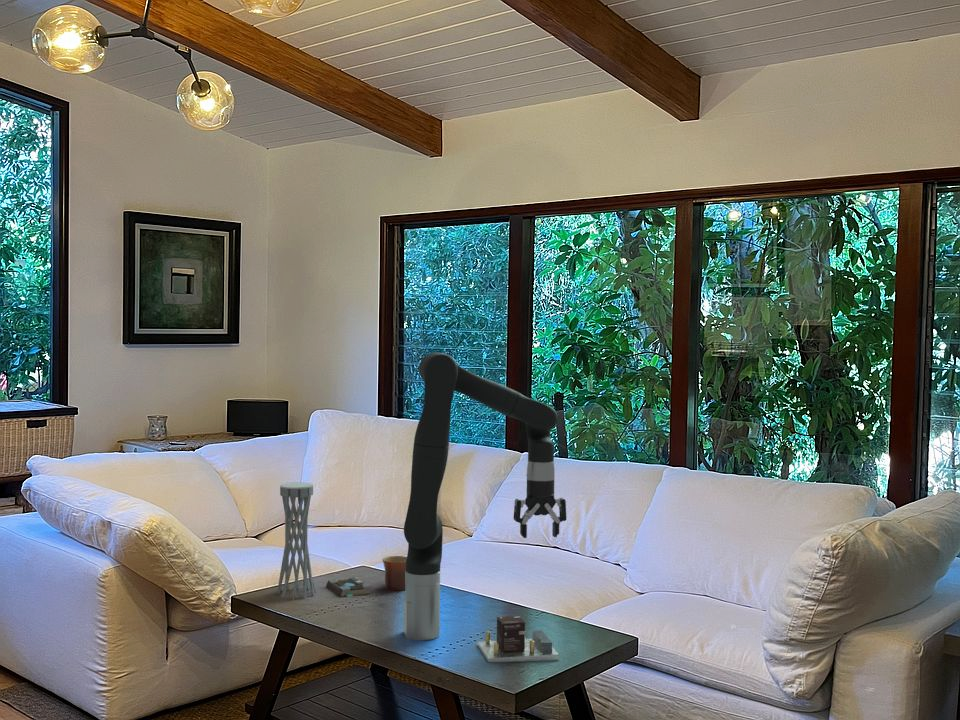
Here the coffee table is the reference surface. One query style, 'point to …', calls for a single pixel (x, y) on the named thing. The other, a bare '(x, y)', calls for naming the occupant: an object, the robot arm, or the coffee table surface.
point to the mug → (394, 573)
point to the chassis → (534, 651)
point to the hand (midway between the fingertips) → (539, 537)
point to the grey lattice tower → (296, 537)
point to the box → (511, 633)
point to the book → (348, 587)
